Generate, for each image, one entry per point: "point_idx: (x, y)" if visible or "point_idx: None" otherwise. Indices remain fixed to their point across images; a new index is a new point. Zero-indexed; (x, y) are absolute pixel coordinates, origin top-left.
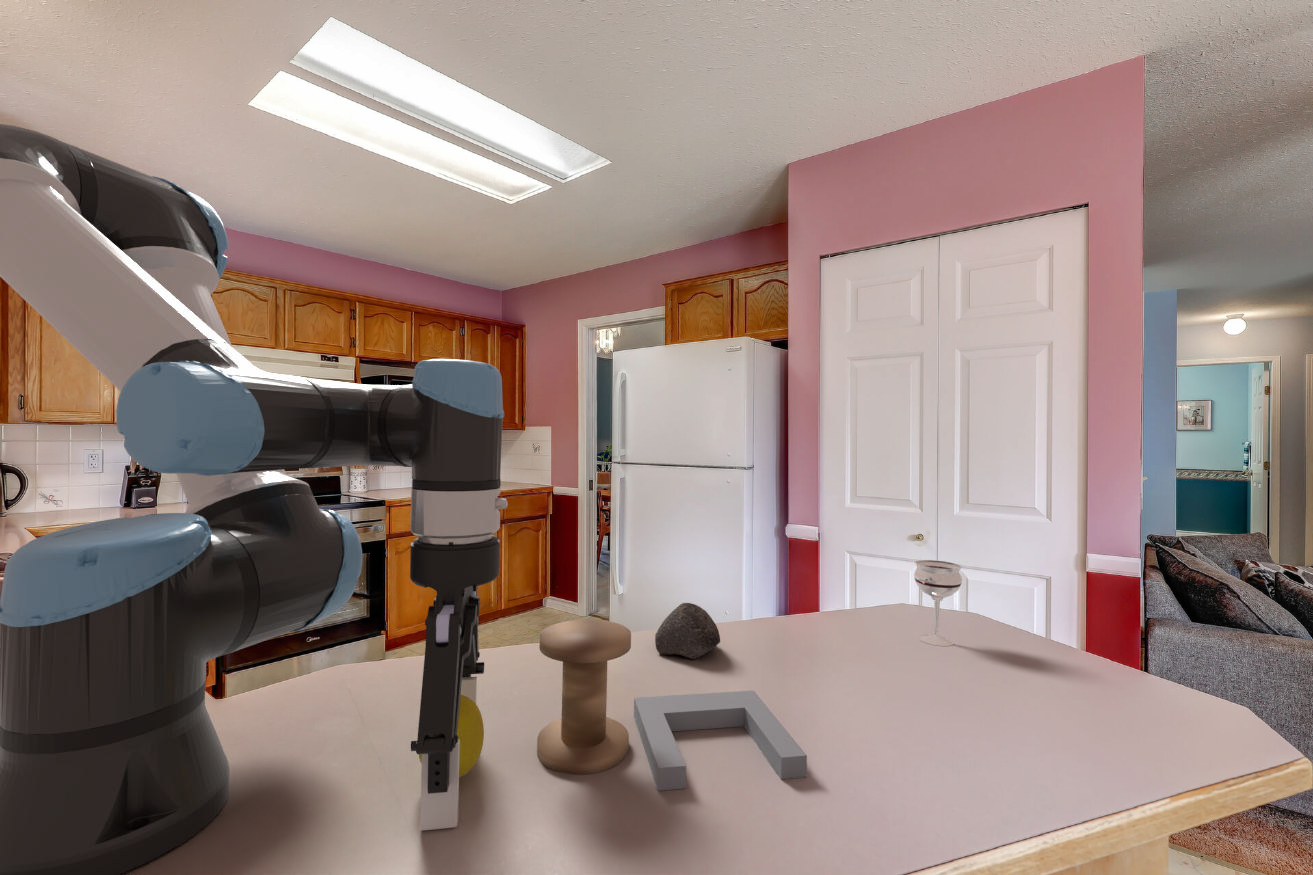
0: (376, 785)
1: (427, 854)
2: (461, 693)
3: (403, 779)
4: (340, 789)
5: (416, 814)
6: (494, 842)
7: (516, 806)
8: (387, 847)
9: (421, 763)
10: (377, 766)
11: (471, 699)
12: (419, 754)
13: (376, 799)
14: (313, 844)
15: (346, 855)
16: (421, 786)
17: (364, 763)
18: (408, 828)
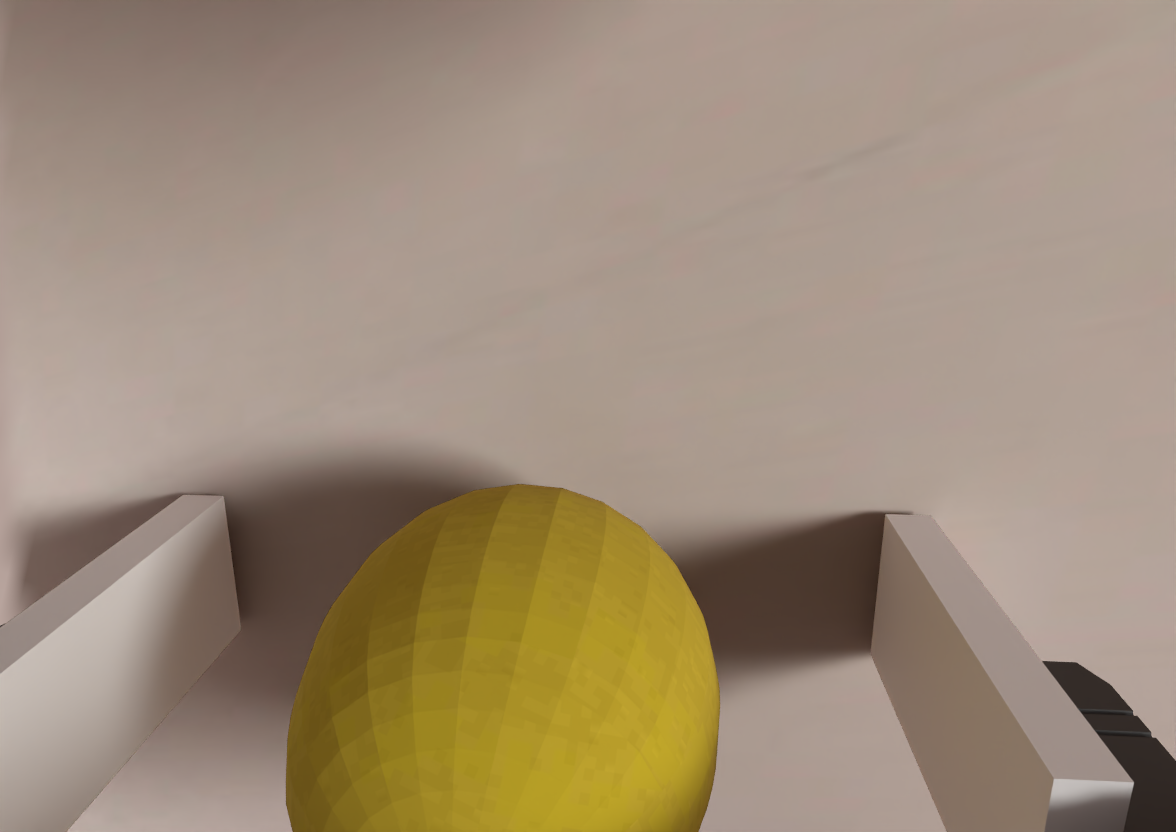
0: (577, 208)
1: (71, 535)
2: (988, 797)
3: (614, 338)
4: (566, 12)
5: (317, 453)
6: (137, 750)
7: None
8: (107, 378)
9: (444, 502)
10: (778, 161)
11: (960, 823)
12: (433, 511)
13: (450, 242)
14: (123, 40)
15: (57, 221)
16: (55, 588)
17: (831, 69)
18: (223, 437)
